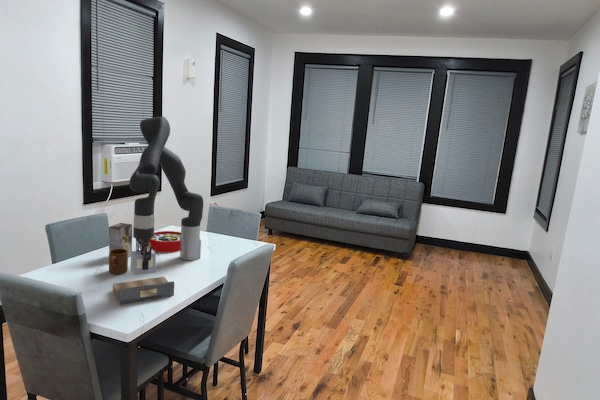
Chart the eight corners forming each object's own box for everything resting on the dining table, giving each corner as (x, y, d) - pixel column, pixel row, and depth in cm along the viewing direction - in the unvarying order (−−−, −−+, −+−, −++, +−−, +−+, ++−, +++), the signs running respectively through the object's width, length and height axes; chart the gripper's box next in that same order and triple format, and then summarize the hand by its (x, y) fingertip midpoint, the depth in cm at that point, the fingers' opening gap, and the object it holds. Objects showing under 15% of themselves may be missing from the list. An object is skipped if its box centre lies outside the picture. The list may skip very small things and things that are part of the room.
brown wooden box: (163, 283, 170) (163, 270, 169) (174, 295, 159) (174, 282, 158) (112, 291, 159) (112, 278, 158) (120, 305, 148) (120, 291, 147)
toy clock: (182, 230, 230) (191, 240, 213) (181, 240, 231) (191, 250, 214) (145, 232, 219) (152, 243, 203) (145, 242, 220) (152, 254, 204)
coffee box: (120, 253, 200) (121, 222, 197) (132, 255, 199) (132, 224, 196) (108, 259, 191) (108, 226, 188) (120, 261, 190) (120, 228, 187)
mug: (119, 279, 170) (120, 258, 168) (101, 278, 170) (101, 257, 168) (130, 269, 182) (130, 249, 180) (113, 267, 181) (113, 248, 180)
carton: (130, 270, 158) (130, 251, 156) (151, 267, 163) (151, 249, 161) (134, 275, 154) (134, 255, 152) (155, 272, 158) (155, 253, 157)
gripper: (129, 221, 158) (128, 262, 161) (138, 231, 147) (137, 274, 150) (148, 220, 162) (147, 259, 166) (159, 229, 151) (158, 271, 154)
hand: (143, 266), depth 158 cm, fingers closed on carton, 5 cm apart
